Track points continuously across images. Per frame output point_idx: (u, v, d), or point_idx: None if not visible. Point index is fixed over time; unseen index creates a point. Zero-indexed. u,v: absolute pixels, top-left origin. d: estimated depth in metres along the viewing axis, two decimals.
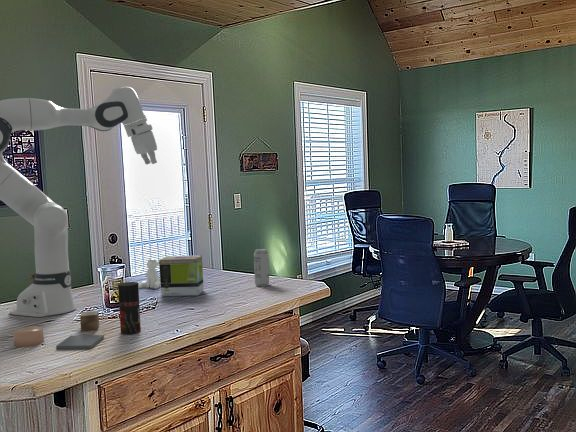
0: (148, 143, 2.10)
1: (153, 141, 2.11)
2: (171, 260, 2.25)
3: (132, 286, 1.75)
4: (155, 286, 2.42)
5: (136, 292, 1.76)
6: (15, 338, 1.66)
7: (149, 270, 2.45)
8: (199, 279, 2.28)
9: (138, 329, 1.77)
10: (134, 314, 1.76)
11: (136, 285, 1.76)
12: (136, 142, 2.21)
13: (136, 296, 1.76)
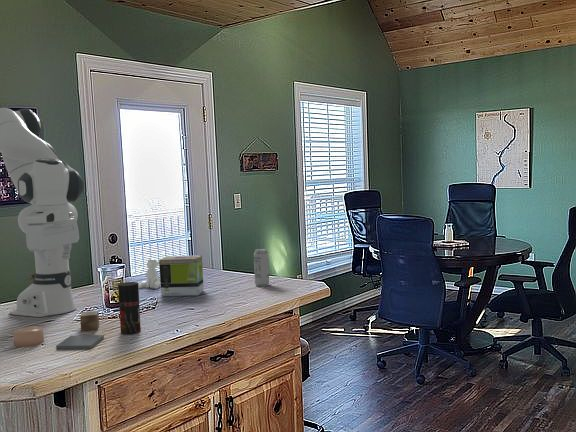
0: (30, 240, 1.58)
1: (36, 239, 1.58)
2: (171, 260, 2.25)
3: (132, 286, 1.75)
4: (155, 286, 2.42)
5: (136, 292, 1.76)
6: (15, 338, 1.66)
7: (149, 270, 2.45)
8: (199, 279, 2.28)
9: (138, 329, 1.77)
10: (134, 314, 1.76)
11: (136, 285, 1.76)
12: None
13: (136, 296, 1.76)
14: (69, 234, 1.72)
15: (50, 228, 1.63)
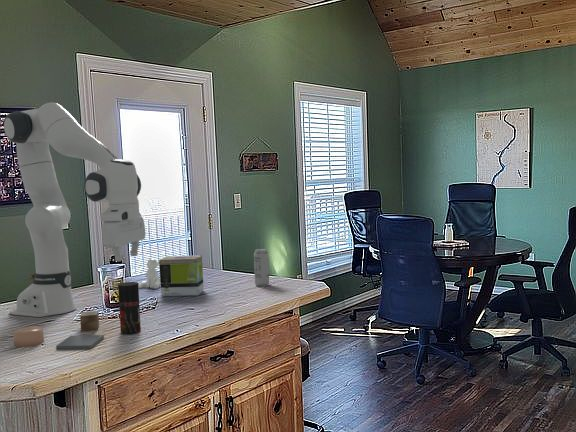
0: (106, 236, 1.66)
1: (112, 236, 1.66)
2: (171, 260, 2.25)
3: (132, 286, 1.75)
4: (155, 286, 2.42)
5: (136, 292, 1.76)
6: (15, 338, 1.66)
7: (149, 270, 2.45)
8: (199, 279, 2.28)
9: (138, 329, 1.77)
10: (134, 314, 1.76)
11: (136, 285, 1.76)
12: None
13: (136, 296, 1.76)
14: (138, 232, 1.80)
15: (123, 225, 1.71)
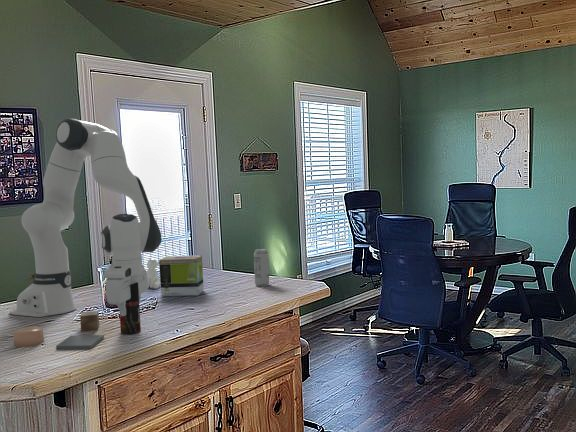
0: (110, 294, 1.68)
1: (116, 293, 1.67)
2: (171, 260, 2.25)
3: (132, 286, 1.75)
4: (155, 286, 2.42)
5: (136, 292, 1.76)
6: (15, 338, 1.66)
7: (149, 270, 2.45)
8: (199, 279, 2.28)
9: (138, 329, 1.77)
10: (134, 314, 1.76)
11: (136, 285, 1.76)
12: None
13: (136, 296, 1.76)
14: (141, 285, 1.81)
15: (127, 281, 1.72)
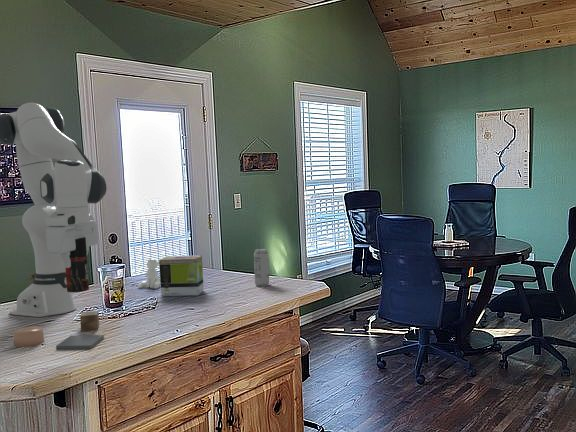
0: (51, 242, 1.55)
1: (57, 242, 1.55)
2: (171, 260, 2.25)
3: (78, 240, 1.63)
4: (155, 286, 2.42)
5: (83, 247, 1.64)
6: (15, 338, 1.66)
7: (149, 270, 2.45)
8: (199, 279, 2.28)
9: (85, 287, 1.65)
10: (80, 270, 1.63)
11: (83, 239, 1.64)
12: None
13: (83, 251, 1.64)
14: (89, 236, 1.69)
15: (70, 230, 1.60)
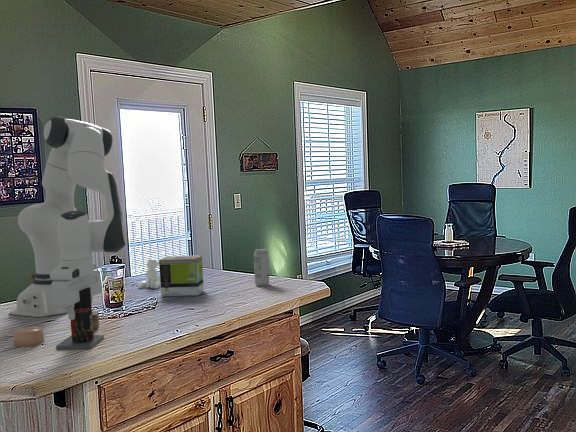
0: (56, 296, 1.57)
1: (62, 296, 1.56)
2: (171, 260, 2.25)
3: (83, 291, 1.64)
4: (155, 286, 2.42)
5: (88, 298, 1.65)
6: (15, 338, 1.66)
7: (149, 270, 2.45)
8: (199, 279, 2.28)
9: (90, 337, 1.66)
10: (85, 321, 1.65)
11: (88, 290, 1.65)
12: None
13: (88, 302, 1.65)
14: (93, 286, 1.71)
15: (75, 283, 1.61)
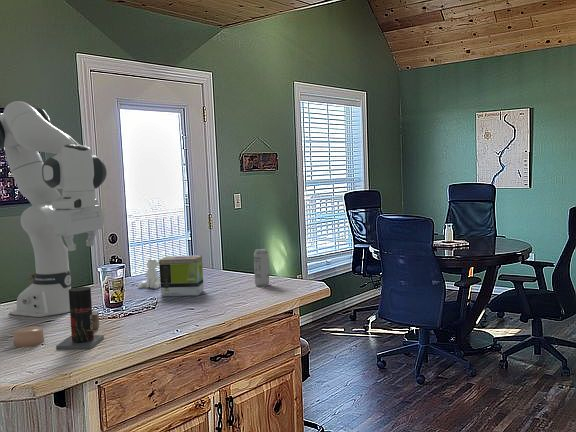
0: (57, 225, 1.58)
1: (63, 224, 1.58)
2: (171, 260, 2.25)
3: (83, 291, 1.64)
4: (155, 286, 2.42)
5: (88, 298, 1.65)
6: (15, 338, 1.66)
7: (149, 270, 2.45)
8: (199, 279, 2.28)
9: (90, 337, 1.66)
10: (85, 321, 1.65)
11: (88, 290, 1.65)
12: None
13: (88, 302, 1.65)
14: (94, 221, 1.72)
15: (77, 214, 1.63)
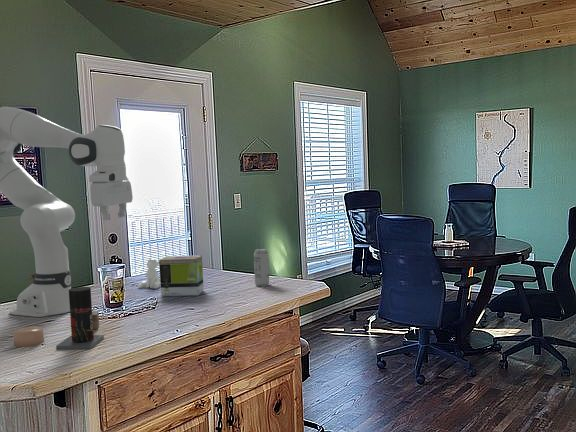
0: (94, 196, 1.77)
1: (100, 195, 1.76)
2: (171, 260, 2.25)
3: (83, 291, 1.64)
4: (155, 286, 2.42)
5: (88, 298, 1.65)
6: (15, 338, 1.66)
7: (149, 270, 2.45)
8: (199, 279, 2.28)
9: (90, 337, 1.66)
10: (85, 321, 1.65)
11: (88, 290, 1.65)
12: None
13: (88, 302, 1.65)
14: (125, 194, 1.91)
15: (111, 187, 1.81)
